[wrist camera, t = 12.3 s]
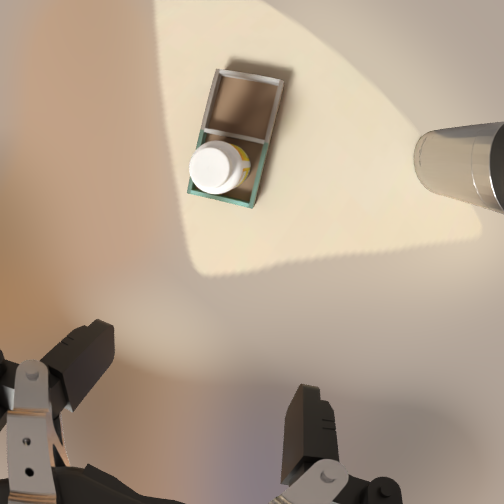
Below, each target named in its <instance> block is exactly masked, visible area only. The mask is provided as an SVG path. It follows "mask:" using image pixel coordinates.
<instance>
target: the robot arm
mask: <svg viewBox="0 0 504 504" xmlns="http://www.w3.org/2000/svg"><path fill="white" fill-rule="evenodd" d="M414 166H415V170H416V173H417V176H418V178H419V180H420V181H421V183H422V184H423V185H424V186H425V187H426V188H427V189H428V190H429V191H431V192H433V193H436V194H439V195H443V196H446V197H449V198H453V199H456V200H460V201H463V202H467V203H470V204H473V205H476V206H480V207H483V208H486V209H489V210H492V211H495V212H498V213H502V214H504V122H496V123H487V124H479V125H470V126H462V127H455V128H447V129H440V130H434V131H430V132H428V133H426V134H425V135H423V136H422V137H421V138H420V140H419V141H418V143H417V145H416V148H415V152H414ZM114 348H115V347H114V327H113V325H111V324H108V323H106V322H104V321H101V320H99V319H96V320H95V321H94V322H92V324H90V325H89V326H88V327H87V326H85V325H84V326H81V327H79V328H76V329H74V330H73V331H72V332H71V333H69V334H68V335H67V337H65V338H64V339H63V340H62V341H61V343H60V342H59V343H58V344H57V345H56V346H55V347H54V348H53V349H52V350H51V351H49V352H48V353H47V354H46V355H45V356H44V357H43V358H42V359H41V360H40V361H37V360H26V361H24V362H22V363H21V364H17V363H14V362H11V361H8V360H5V359H4V356H3V353H2V351H1V350H0V431H1V430H2V428H3V427H4V426H5V425H6V423H7V463H8V475H9V478H6V479H0V504H185V503H181V502H178V501H175V500H168V499H160V498H153V497H147V496H142V495H139V494H138V493H136V492H135V491H133V490H132V489H131V488H129V487H127V486H126V485H125V484H123V483H122V482H121V481H119V480H118V479H117V478H115V477H114V476H112V475H109V474H107V473H105V472H103V471H101V470H99V469H97V468H96V467H94V466H92V465H90V464H87V466H86V467H85V469H83V468H78V467H71V466H70V463H69V460H68V457H67V453H66V448H65V442H64V435H63V427H62V418H61V413H60V412H61V411H62V410H63V408H66V409H68V410H69V411H71V412H74V410H75V409H76V408H77V406H78V405H79V404H80V403H81V401H82V400H83V399H84V397H85V396H86V395H87V393H88V392H89V391H90V390H91V389H92V387H93V386H94V385H95V384H96V382H97V381H98V380H99V379H100V377H101V376H102V375H103V374H104V372H105V371H106V370H107V369H108V367H109V366H110V365H111V363H112V361H113V359H114V353H115V349H114ZM334 422H335V417H334V411H333V409H332V408H331V406H330V404H329V402H328V401H324V400H320V389H319V388H318V387H315V386H310V385H305V384H300V386H299V387H298V389H297V391H296V393H295V395H294V397H293V399H292V401H291V403H290V405H289V407H288V410H287V412H286V417H285V426H284V442H283V458H282V471H281V484H284V485H289V488H288V489H287V490H286V491H284V492H283V493H282V494H281V495H280V496H278V497H276V498H275V499H274V500H272V501H271V502H269V503H268V504H403V503H402V495H401V490H400V487H399V485H398V484H397V483H396V482H395V481H394V480H393V479H391V478H388V477H378V478H375V479H374V480H372V481H371V482H369V481H365V480H362V479H359V478H356V477H353V476H351V475H349V474H348V472H347V470H346V468H345V467H344V466H343V465H342V464H341V463H340V462H339V455H338V445H337V435H336V431H335V430H336V426H335V423H334Z"/></svg>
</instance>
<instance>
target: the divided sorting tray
mask: <svg viewBox="0 0 504 504" xmlns="http://www.w3.org/2000/svg"><path fill="white" fill-rule="evenodd" d="M283 88H284V80H280V79H275V78H270V77H265V76H260V75H255V74H249V73H243V72H236V71H230V70H222V69H216V71H215V75H214V78H213V82H212V86H211V89H210V93H209V97H208V101H207V105H206V109H205V113H204V117H203V121H202V125H201V129H200V133H199V138H198V142H197V147H196V149H197V148H198V147H200V146H201V145H202V144H204V143H206V142H210V141H223V142H226V143H230V144H233V145H236V146H238V147H240V148H242V149H243V150H244V151H245V152H246V153H247V155H248V157H249V159H250V163H251V169H250V173H249V176H248V177H247V179H246V180H245V181H244V182H243V183H242V184H241V185H239V186H237V187H235V188H233V189H231V190H229V191H227V192H225V193H222V194H210V193H206V192H204V191H202V190H201V189H199V188H198V187H197V186H196V185H195V184H194V182H193V180H192V178H191V176H190V180H189V185H188V190H187V193H189V194H193V195H197V196H202V197H206V198H210V199H215V200H219V201H223V202H227V203H231V204H235V205H240V206H244V207H248V208H253V207H254V206H255V202H256V198H257V193H258V189H259V185H260V181H261V177H262V173H263V169H264V165H265V161H266V157H267V152H268V148H269V144H270V140H271V136H272V132H273V128H274V124H275V120H276V116H277V112H278V108H279V104H280V100H281V96H282V92H283Z"/></svg>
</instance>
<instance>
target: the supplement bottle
mask: <svg viewBox="0 0 504 504" xmlns="http://www.w3.org/2000/svg"><path fill="white" fill-rule="evenodd" d="M250 169H251V163H250V159H249V157H248V155H247V153H246V152H245V151H244V150H243V149H242V148H240V147H238V146H236V145H233V144H230V143H226V142H223V141H210V142H206V143H204V144H202V145H201V146H200V147H198V148H197V149H196V150H195V152H194V153H193V155H192V157H191V160H190V164H189V171H190V176H191V178H192V180H193V182H194V184H195V185H196V186H197V187H198V188H199V189H201V190H202V191H204V192H206V193H210V194H222V193H225V192H227V191H229V190H231V189H233V188H235V187H237V186H239V185H241V184H242V183H243V182H244V181H245V180H246V179H247V177H248V176H249V173H250Z"/></svg>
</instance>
